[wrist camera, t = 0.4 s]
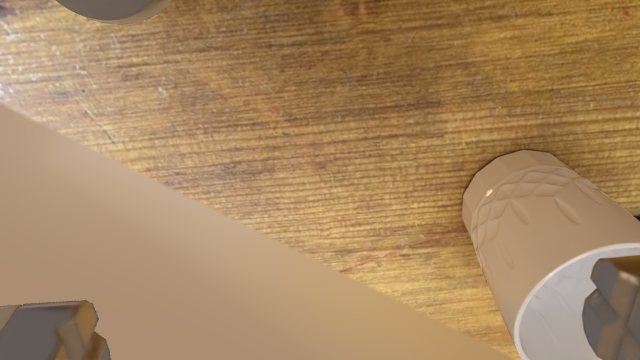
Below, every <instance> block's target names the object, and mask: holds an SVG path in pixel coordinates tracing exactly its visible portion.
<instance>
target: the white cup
mask: <svg viewBox="0 0 640 360" xmlns="http://www.w3.org/2000/svg"><path fill="white" fill-rule="evenodd" d="M462 220H463V222H464V224H465V226H466V228H467V230H468V233H469V235H470V237H471V239H472V242H473V244H474V249H475V254H476V256H477V259H478V261H479V264H480V266H481V269H482V271H483V273H484V275H485V278H486V281H487V284H488V286H489V289H490V291H491V293H492V295H493V297H494V300H495V302H496V304H497V306H498V309H499V311H500V313H501V315H502V318H503V320H504V322H505V324H506V327H507V329H508V331H509V334H510V336H511V338H512V340H513V343H514V345H515V347H516V350H517V352H518V354H519V356H520V357H521V359H522V360H602V359H600V358H599V357H597V356H596V354H595V353H594V351H593V350H592V348H591V346H590V345H589V343H588V340H587V338H586V335H585V333H584V328H583V321H582V311H583V306H584V301H585V299H586V298H587V297H588V296H589V295H590V294H591V293H592V292H593V291H594V290H595V289H596V286H595V285H594V283H593V282H592V280H591V279H590V277H591V273H592V269H593V266H594V264H595V263H596V262H597V261H598V259H599V258H610V257H621V256H633V255H640V221H639V220H637V219H636V218H635V217H634V216H633V215H631V214H630V213H629V212H628V211H627V210H626V209H624V208H623V207H622V206H621V205H620V204H618V203H617V202H615V201H614V200H612V199H611V198H610V197H609V196H608V195H607V194H606V193H604V192H603V191H602V190H601V189H599V188H598V187H596V186H595V185H594V184H593V183H592V182H590V181H589V180H588V179H586V178H585V177H582V176H580V175H578V174H577V173H576V172H575V171H574V170H573V169H571V168H570V167H569V166H568V165H566V164H565V163H563V162H562V161H561V160H559V159H558V158H556V157H555V156H554V155H552V154H551V153H548V152H540V151H532V150H521V151H517V152H514V153H511V154H507V155H504V156H500V157H497V158H496V159H495V160H493V161H492V162H491V163H489V164H488V165H487V166H485V167H484V168H483V169H481V170H480V171H479V172H478V173H476V174H475V176H474V178H473V179H472V181H471V183H470V184H469V186H468V188H467V190H466V191H465V193H464V195H463V205H462Z"/></svg>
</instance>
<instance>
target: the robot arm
mask: <svg viewBox="0 0 640 360" xmlns="http://www.w3.org/2000/svg"><path fill="white" fill-rule="evenodd" d="M590 279H591V280H592V282H593V283H594V285H595V286H596V289H595V290H594V291H593V292H592V293H591V294H590V295H589V296H588V297H587V298H586V299H585V301H584V306H583V311H582V321H583V328H584V333H585V335H586V338H587V340H588V343H589V345H590V346H591V348H592V350H593V351H594V353H595V354H596V356H597V357H599V358H600V359H602V360H640V255H633V256H621V257H610V258H599V259H598V261H597V262H596V263H595V264H594V266H593V269H592V273H591V277H590ZM98 320H99V318H98V315H97V313H96V310H95V308H94V306H93V303H91V302H89V301H87V300H82V301H66V302H48V303H32V304H23V305H7V306H0V360H111V358H110V351H109V348H108V345H107V341H106V339H104V338H103V337H102V336H100V335H99V334H98V333H96V332H95V331H94V329H95V327H96V325H97V322H98Z"/></svg>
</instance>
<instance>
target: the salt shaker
mask: <svg viewBox="0 0 640 360" xmlns="http://www.w3.org/2000/svg"><path fill="white" fill-rule="evenodd" d="M56 1H57V2H59V3H60V4H61V5H63V6H64V7H66V8H67V9H69V10H71V11H73V12H75V13H77V14H79V15H82V16H85V17H87V18H89V19H92V20H95V21H98V22H102V23H107V24H117V25H124V24H133V23H137V22H141V21H144V20H147V19H149V18H151V17H153V16H155V15H156V14H158V13H159V12H161V11H162V10H163V9H164V8H165V7H166V6H167V5H168V4H169V3H170V2H171V1H172V0H56Z"/></svg>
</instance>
